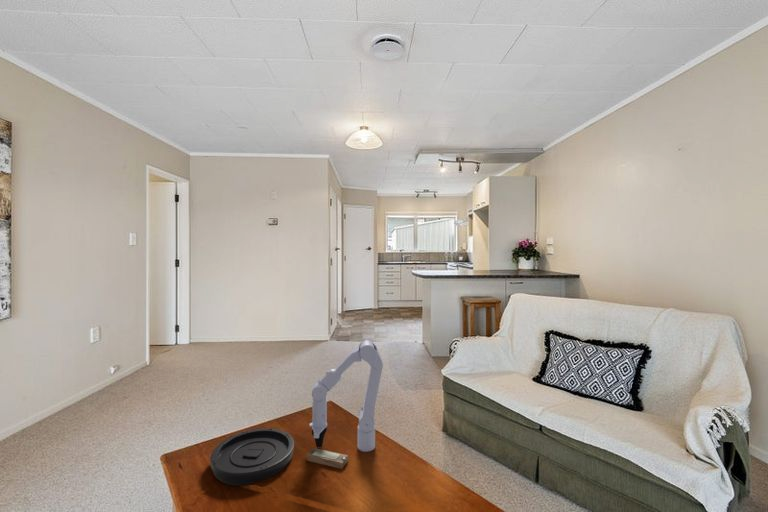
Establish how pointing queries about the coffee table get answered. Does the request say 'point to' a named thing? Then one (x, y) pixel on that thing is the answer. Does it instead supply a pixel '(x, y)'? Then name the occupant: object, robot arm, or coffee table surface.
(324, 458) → the frame
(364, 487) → the coffee table surface
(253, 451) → the round tray
